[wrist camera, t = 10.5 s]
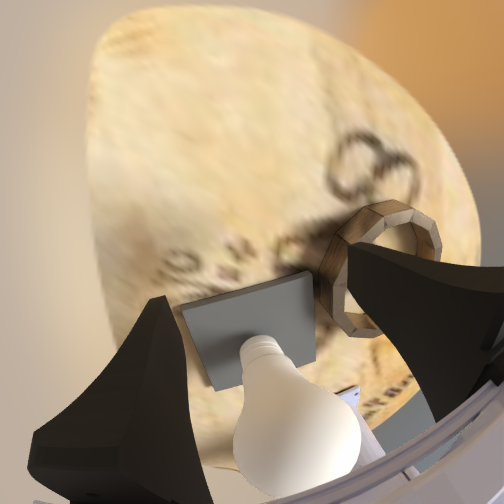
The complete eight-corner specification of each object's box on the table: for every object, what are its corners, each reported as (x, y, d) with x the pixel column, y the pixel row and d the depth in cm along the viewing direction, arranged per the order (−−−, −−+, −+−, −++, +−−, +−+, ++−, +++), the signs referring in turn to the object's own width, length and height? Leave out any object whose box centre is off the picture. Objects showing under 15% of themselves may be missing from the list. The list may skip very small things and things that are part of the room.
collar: (415, 298, 22) (429, 310, 20) (320, 338, 21) (332, 355, 19) (427, 192, 18) (447, 199, 16) (315, 218, 16) (331, 230, 15)
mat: (312, 356, 21) (315, 360, 21) (213, 385, 20) (215, 391, 20) (308, 270, 18) (312, 274, 17) (181, 305, 17) (181, 311, 16)
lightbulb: (204, 373, 19) (239, 522, 9) (215, 301, 16) (271, 487, 7) (285, 370, 20) (346, 495, 11) (309, 304, 18) (407, 442, 8)
